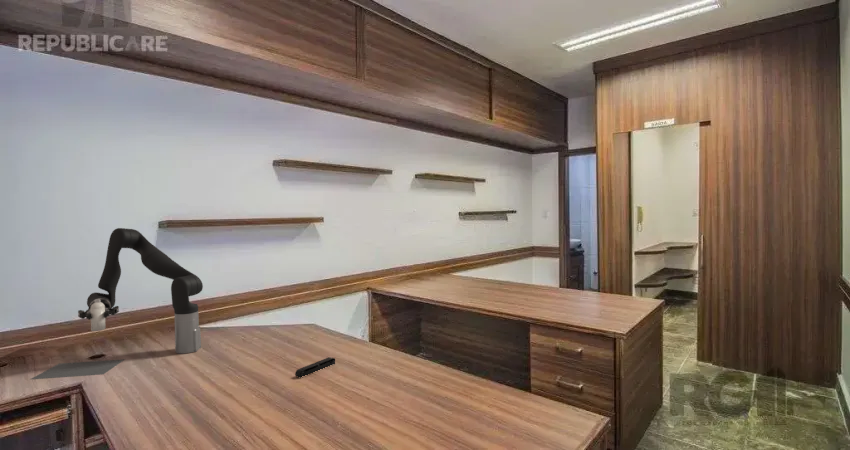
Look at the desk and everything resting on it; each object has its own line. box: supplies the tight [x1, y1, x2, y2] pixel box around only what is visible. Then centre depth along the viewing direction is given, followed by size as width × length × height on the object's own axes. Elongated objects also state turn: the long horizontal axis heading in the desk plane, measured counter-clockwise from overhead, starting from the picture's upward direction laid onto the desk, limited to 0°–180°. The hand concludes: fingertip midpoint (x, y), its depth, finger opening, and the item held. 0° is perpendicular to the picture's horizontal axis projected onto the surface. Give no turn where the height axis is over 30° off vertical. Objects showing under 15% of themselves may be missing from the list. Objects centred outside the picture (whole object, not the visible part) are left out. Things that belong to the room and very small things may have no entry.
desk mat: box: [29, 358, 126, 380], centre depth 162 cm, size 24×16×1 cm, turn 101°
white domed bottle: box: [90, 299, 107, 332], centre depth 168 cm, size 5×5×12 cm
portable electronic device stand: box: [294, 356, 336, 378], centre depth 161 cm, size 18×3×3 cm, turn 145°
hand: (97, 316), depth 166 cm, fingers closed on white domed bottle, 4 cm apart
